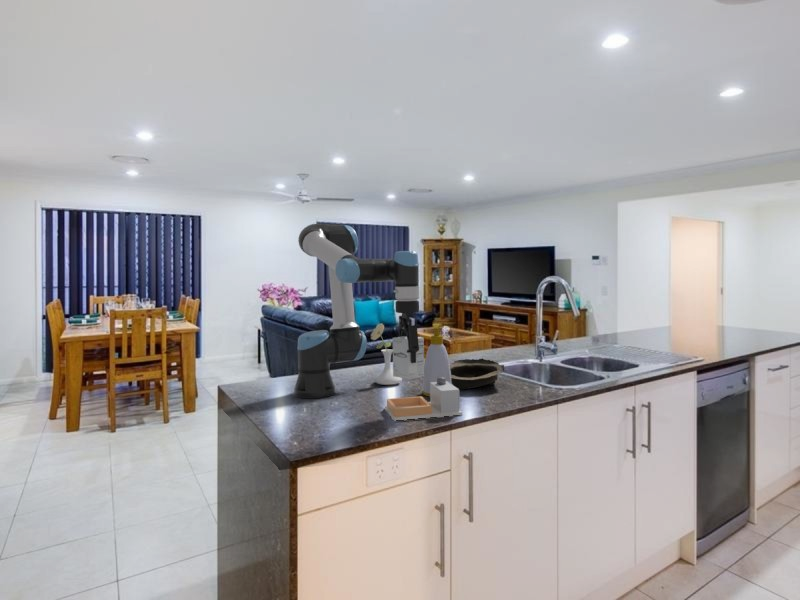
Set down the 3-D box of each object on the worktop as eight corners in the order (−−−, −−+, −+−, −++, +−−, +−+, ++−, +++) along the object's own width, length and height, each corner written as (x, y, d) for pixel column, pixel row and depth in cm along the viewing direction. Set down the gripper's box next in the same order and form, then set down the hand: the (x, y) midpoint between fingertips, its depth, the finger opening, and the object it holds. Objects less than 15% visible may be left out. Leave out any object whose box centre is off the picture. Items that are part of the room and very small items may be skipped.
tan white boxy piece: (393, 421, 144) (393, 388, 143) (384, 408, 158) (384, 378, 157) (462, 415, 149) (461, 383, 148) (447, 403, 163) (447, 374, 162)
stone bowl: (500, 378, 199) (500, 356, 197) (507, 398, 174) (508, 374, 173) (441, 377, 201) (441, 355, 200) (440, 396, 176) (440, 372, 175)
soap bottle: (420, 397, 170) (419, 325, 169) (423, 390, 182) (422, 321, 180) (452, 398, 169) (451, 325, 167) (453, 390, 180) (452, 321, 179)
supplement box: (392, 376, 151) (391, 337, 151) (408, 373, 157) (407, 335, 156) (408, 380, 146) (408, 339, 146) (425, 376, 151) (424, 336, 151)
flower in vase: (390, 379, 201) (389, 320, 199) (407, 384, 192) (406, 322, 190) (365, 384, 193) (363, 323, 191) (381, 389, 184) (380, 325, 182)
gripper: (388, 298, 160) (389, 364, 161) (404, 302, 138) (405, 377, 140) (409, 298, 162) (411, 363, 163) (428, 301, 140) (430, 376, 141)
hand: (408, 369), depth 151 cm, fingers closed on supplement box, 10 cm apart
